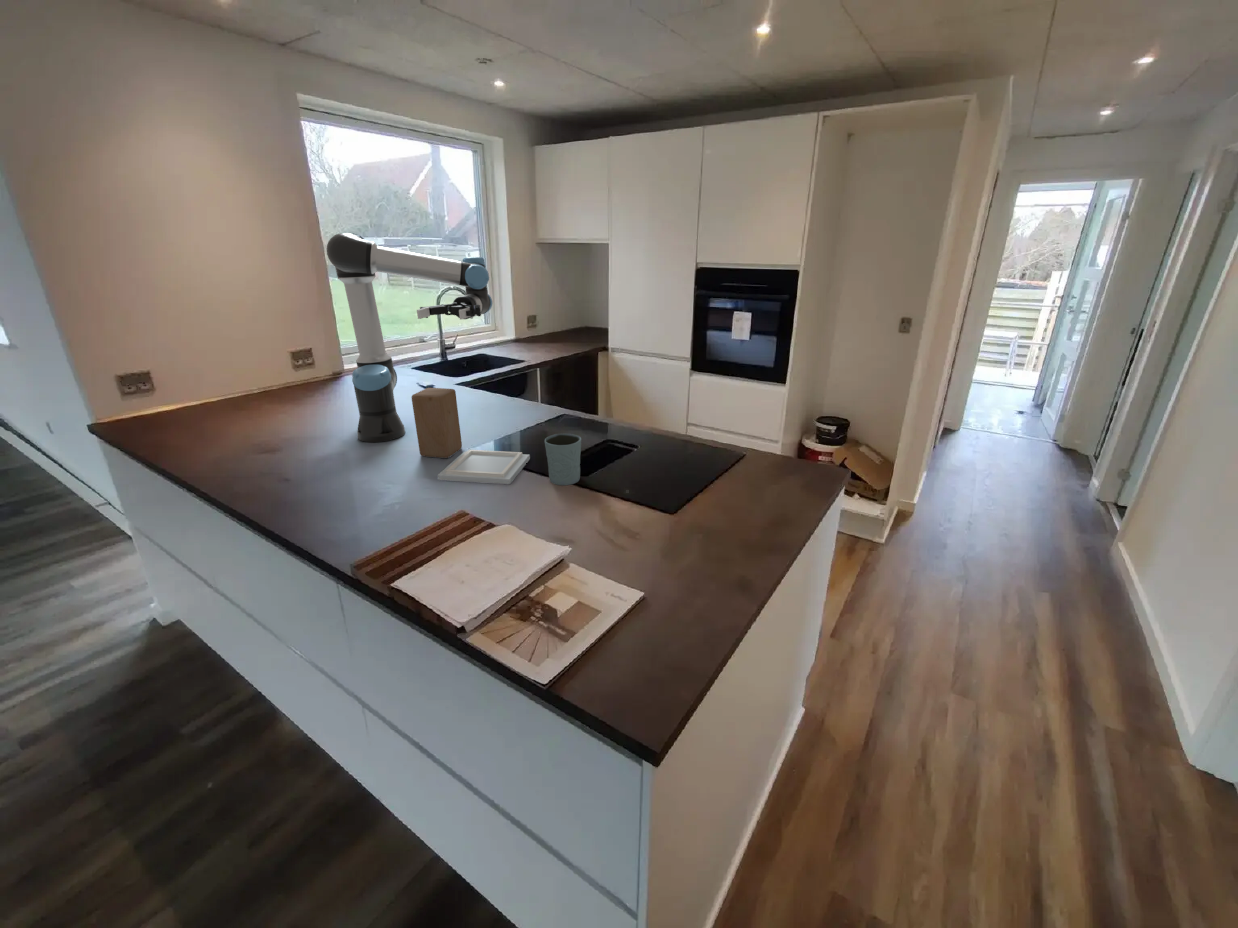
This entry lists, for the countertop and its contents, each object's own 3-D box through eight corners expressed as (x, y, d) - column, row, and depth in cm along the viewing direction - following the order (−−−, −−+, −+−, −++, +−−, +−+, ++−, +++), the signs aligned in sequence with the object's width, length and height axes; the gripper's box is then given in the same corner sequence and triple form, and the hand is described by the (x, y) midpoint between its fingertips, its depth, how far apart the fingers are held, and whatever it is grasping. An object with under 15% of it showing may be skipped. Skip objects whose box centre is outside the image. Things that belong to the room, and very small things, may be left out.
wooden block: (448, 459, 167) (440, 396, 159) (419, 457, 169) (409, 394, 161) (463, 448, 176) (456, 388, 168) (435, 446, 178) (427, 386, 170)
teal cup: (554, 489, 147) (552, 447, 142) (541, 475, 155) (539, 436, 151) (588, 481, 151) (587, 441, 147) (574, 469, 159) (572, 430, 155)
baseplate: (465, 455, 170) (464, 448, 169) (530, 459, 167) (529, 451, 166) (438, 480, 152) (437, 471, 152) (509, 484, 150) (509, 476, 149)
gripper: (503, 318, 185) (479, 327, 165) (434, 317, 188) (403, 326, 169) (501, 295, 182) (476, 302, 162) (431, 295, 185) (399, 301, 166)
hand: (439, 314), depth 166 cm, fingers open, 13 cm apart
